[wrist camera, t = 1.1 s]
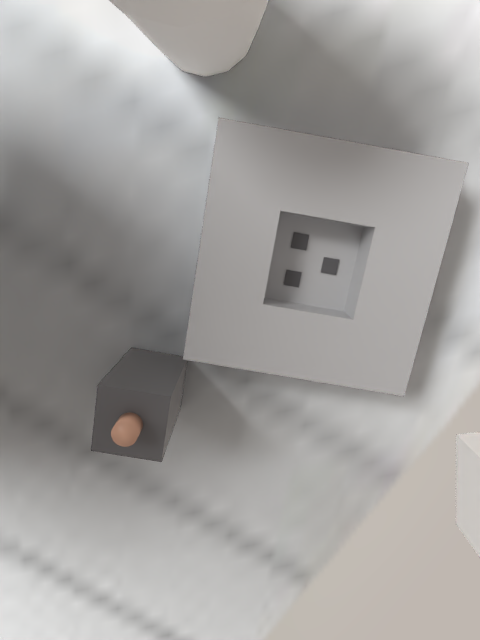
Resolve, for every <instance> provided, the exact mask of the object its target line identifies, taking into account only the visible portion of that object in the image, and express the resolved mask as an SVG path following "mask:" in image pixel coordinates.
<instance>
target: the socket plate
mask: <svg viewBox="0 0 480 640" xmlns="http://www.w3.org/2000/svg"><path fill="white" fill-rule="evenodd" d="M468 164H469V163H466V162H461V161H455V160H450V159H444V158H439V157H433V156H428V155H422V154H417V153H411V152H406V151H400V150H395V149H389V148H384V147H378V146H373V145H367V144H362V143H356V142H351V141H345V140H340V139H334V138H329V137H323V136H318V135H312V134H307V133H301V132H296V131H290V130H285V129H279V128H274V127H268V126H262V125H257V124H251V123H246V122H240V121H235V120H229V119H224V118H218V125H217V131H216V138H215V145H214V152H213V158H212V165H211V172H210V179H209V185H208V192H207V199H206V206H205V212H204V219H203V226H202V233H201V240H200V246H199V253H198V260H197V267H196V273H195V280H194V287H193V294H192V300H191V307H190V314H189V321H188V328H187V334H186V341H185V348H184V355H183V360H189V361H195V362H201V363H207V364H213V365H219V366H225V367H231V368H237V369H243V370H249V371H255V372H261V373H267V374H273V375H279V376H285V377H291V378H297V379H303V380H309V381H315V382H321V383H327V384H333V385H339V386H345V387H351V388H357V389H363V390H369V391H375V392H381V393H387V394H393V395H398V396H405V392H406V389H407V385H408V382H409V378H410V374H411V371H412V367H413V363H414V360H415V356H416V353H417V349H418V345H419V342H420V338H421V334H422V331H423V327H424V324H425V320H426V316H427V313H428V309H429V305H430V302H431V298H432V295H433V291H434V287H435V284H436V280H437V276H438V273H439V269H440V266H441V262H442V258H443V255H444V251H445V247H446V244H447V240H448V237H449V233H450V229H451V226H452V222H453V219H454V215H455V211H456V208H457V204H458V200H459V197H460V193H461V190H462V186H463V182H464V179H465V175H466V171H467V168H468Z"/></svg>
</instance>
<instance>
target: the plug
mask: <svg viewBox="0 0 480 640" xmlns="http://www.w3.org/2000/svg"><path fill="white" fill-rule="evenodd" d="M187 361H188V360H183V356H179V355H173V354H167V353H161V352H155V351H149V350H143V349H137V348H131V349H130V350H129V351H128V352H127V353H126V354H125V355H124V357H123V358H122V359H121V360H120V361H119V362H118V363H117V364H116V365H115V366H114V367H113V369H112V370H111V371H110V372H109V373H108V374H107V375H106V376H105V377H104V378H103V379H102V381H101V382H100V383H99V384H98V387H97V397H96V407H95V417H94V427H93V436H92V446H91V451H96V452H103V453H109V454H115V455H121V456H127V457H134V458H140V459H146V460H152V461H158V462H162V459H163V457H164V454H165V451H166V448H167V445H168V442H169V440H170V437H171V434H172V431H173V428H174V425H175V423H176V420H177V417H178V414H179V411H180V407H181V401H182V394H183V387H184V381H185V374H186V368H187Z"/></svg>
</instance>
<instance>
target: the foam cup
mask: <svg viewBox="0 0 480 640" xmlns="http://www.w3.org/2000/svg"><path fill="white" fill-rule="evenodd" d="M109 1H110V2H111V3H113V4H114V5H115V6H116V7H117V8H118V9H119V10H121V11H122V12H123V13H124V14H125V15H126V16H127V17H128V18H129V19H130V20H131V21H132V22H133V23H134V24H135V25H136V26H137V27H138V28H139V30H140V31H141V32H142V33H143V34H144V35H145V36H146V37H147V38H148V39H149V40H150V41H151V42H152V43H153V44H154V45H155V46H156V47H157V48H158V49H159V50H160V51H161V52H162V53H163V54H164V55H165V56H166V57H167V58H168V59H169V60H171V61H172V62H173V63H174V64H175V65H176V66H178V67H179V68H180V69H181V70H182V71H185V72H188V73H192V74H196V75H200V76H204V77H207V76H211V75H215V74H219V73H223V72H227V71H229V70H230V69H231V68H232V67H233V66H235V65H236V64H237V63H238V62H239V61H240V60H241V59H243V58H244V57H245V56H246V55H247V53H248V50H249V48H250V46H251V44H252V41H253V39H254V37H255V35H256V32H257V30H258V28H259V25H260V23H261V20H262V17H263V15H264V12H265V9H266V7H267V4H268V1H269V0H109Z"/></svg>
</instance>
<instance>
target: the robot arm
mask: <svg viewBox="0 0 480 640" xmlns="http://www.w3.org/2000/svg"><path fill="white" fill-rule="evenodd" d="M456 525H457V527H458V528H459V529H460V531H461V532H462V534H463V535H464V536H465V538H466V539H467V541H468V542H469V543H470V545H471V546H472V548H473V549H474V551H475V552H476V553H477V555H478V556H479V557H480V432H472V433H463V434H456Z"/></svg>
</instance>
